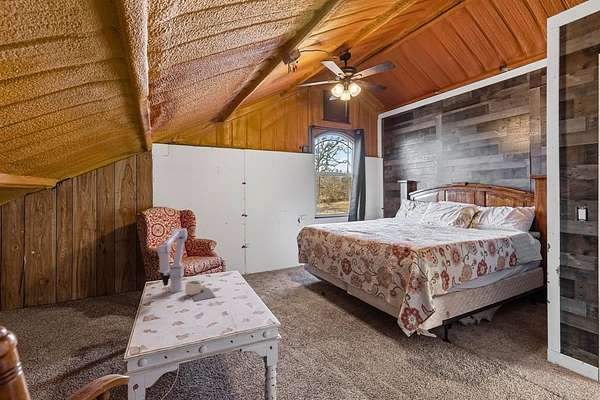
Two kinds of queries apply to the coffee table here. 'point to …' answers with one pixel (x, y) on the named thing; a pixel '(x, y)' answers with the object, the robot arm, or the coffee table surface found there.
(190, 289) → the medicine box
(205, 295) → the grey flat slab
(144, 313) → the coffee table surface
